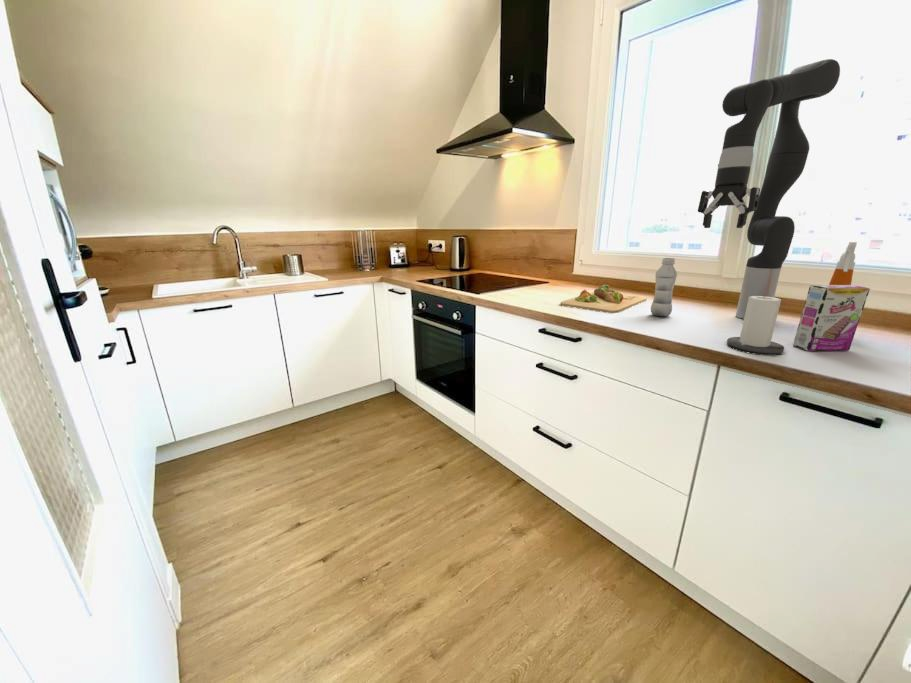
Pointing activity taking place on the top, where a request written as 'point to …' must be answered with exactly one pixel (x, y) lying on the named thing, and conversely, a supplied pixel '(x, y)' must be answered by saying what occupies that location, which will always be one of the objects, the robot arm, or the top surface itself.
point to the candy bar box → (830, 317)
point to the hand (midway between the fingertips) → (722, 227)
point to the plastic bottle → (664, 288)
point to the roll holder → (769, 350)
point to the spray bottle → (845, 267)
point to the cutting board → (604, 300)
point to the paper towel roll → (759, 321)
